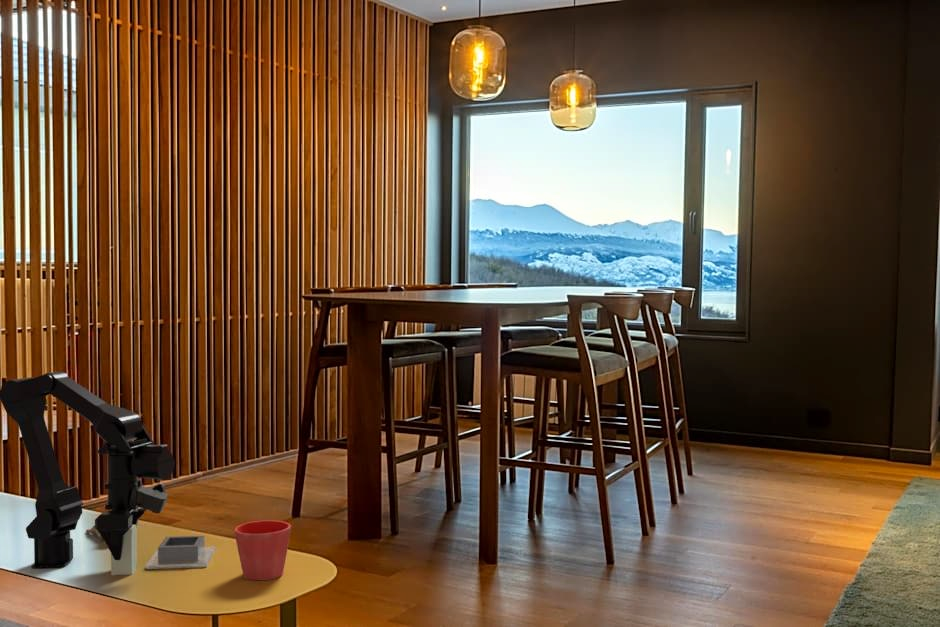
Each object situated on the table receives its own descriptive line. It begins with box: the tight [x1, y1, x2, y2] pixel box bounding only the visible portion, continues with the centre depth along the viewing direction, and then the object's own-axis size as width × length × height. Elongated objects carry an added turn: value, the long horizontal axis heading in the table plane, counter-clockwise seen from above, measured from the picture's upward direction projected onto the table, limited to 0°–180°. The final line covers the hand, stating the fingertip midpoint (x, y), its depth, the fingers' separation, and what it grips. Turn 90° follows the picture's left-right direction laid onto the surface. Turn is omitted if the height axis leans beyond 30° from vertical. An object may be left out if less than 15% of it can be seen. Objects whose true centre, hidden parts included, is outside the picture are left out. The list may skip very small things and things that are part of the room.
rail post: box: [110, 525, 138, 576], centre depth 187 cm, size 4×4×9 cm
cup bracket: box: [145, 535, 217, 570], centre depth 195 cm, size 12×12×4 cm
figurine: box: [85, 524, 105, 542], centre depth 211 cm, size 4×4×15 cm
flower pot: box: [234, 519, 292, 581], centre depth 185 cm, size 11×11×10 cm
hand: (123, 552), depth 187 cm, fingers open, 9 cm apart
